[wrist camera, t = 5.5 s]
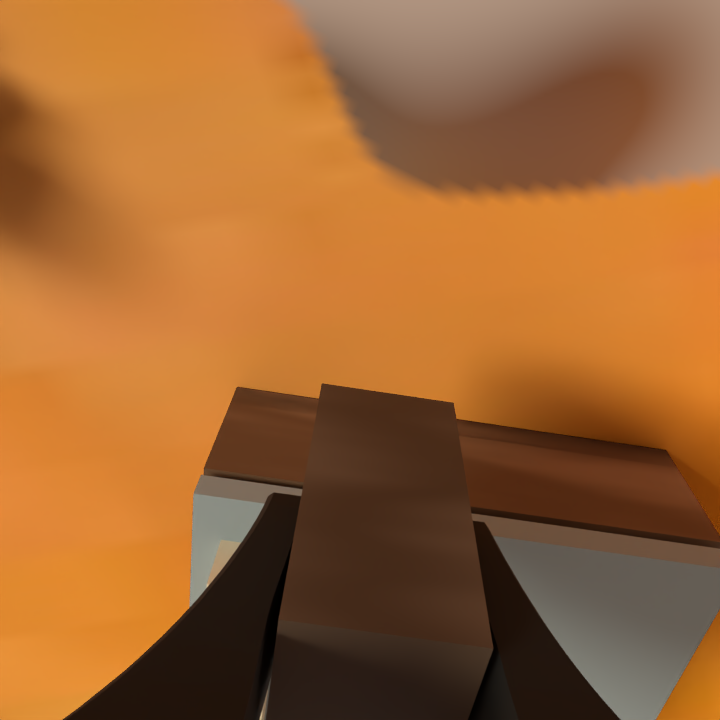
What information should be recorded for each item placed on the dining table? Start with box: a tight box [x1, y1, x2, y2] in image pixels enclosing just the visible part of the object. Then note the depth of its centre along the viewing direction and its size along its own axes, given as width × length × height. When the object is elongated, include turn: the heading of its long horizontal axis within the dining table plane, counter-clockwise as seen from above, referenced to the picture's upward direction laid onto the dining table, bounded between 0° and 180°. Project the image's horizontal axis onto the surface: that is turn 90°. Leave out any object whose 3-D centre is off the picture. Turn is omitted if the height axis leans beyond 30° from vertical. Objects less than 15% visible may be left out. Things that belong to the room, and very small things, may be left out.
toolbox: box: [204, 387, 720, 549], centre depth 24 cm, size 12×15×4 cm
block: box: [266, 384, 493, 720], centre depth 13 cm, size 3×3×6 cm
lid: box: [190, 475, 720, 720], centre depth 20 cm, size 12×15×2 cm
